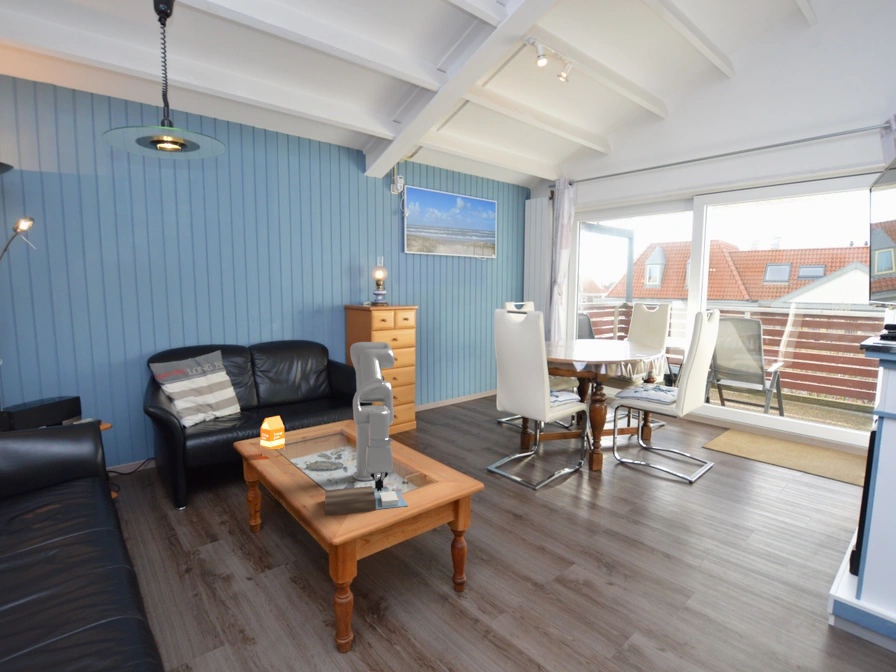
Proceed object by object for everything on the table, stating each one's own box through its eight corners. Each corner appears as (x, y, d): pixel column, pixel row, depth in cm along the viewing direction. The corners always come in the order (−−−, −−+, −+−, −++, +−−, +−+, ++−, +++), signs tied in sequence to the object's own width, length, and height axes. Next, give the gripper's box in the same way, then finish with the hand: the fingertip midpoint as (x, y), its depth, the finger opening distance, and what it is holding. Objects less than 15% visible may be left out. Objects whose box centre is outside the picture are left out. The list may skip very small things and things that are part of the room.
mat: (372, 495, 181) (372, 494, 181) (402, 492, 184) (402, 492, 184) (375, 509, 167) (375, 508, 167) (407, 506, 170) (407, 505, 170)
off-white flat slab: (395, 491, 180) (395, 496, 180) (379, 492, 178) (379, 497, 178) (398, 499, 171) (398, 505, 171) (382, 501, 169) (382, 506, 169)
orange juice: (284, 454, 237) (284, 416, 236) (270, 458, 229) (269, 419, 228) (275, 452, 241) (274, 414, 240) (260, 456, 233) (260, 417, 233)
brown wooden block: (325, 500, 176) (325, 490, 176) (372, 496, 180) (372, 486, 180) (325, 515, 162) (324, 504, 162) (375, 510, 167) (375, 499, 167)
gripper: (397, 438, 179) (397, 484, 180) (358, 441, 175) (358, 488, 176) (400, 443, 172) (400, 491, 172) (359, 446, 168) (359, 495, 168)
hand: (379, 489), depth 174 cm, fingers closed
